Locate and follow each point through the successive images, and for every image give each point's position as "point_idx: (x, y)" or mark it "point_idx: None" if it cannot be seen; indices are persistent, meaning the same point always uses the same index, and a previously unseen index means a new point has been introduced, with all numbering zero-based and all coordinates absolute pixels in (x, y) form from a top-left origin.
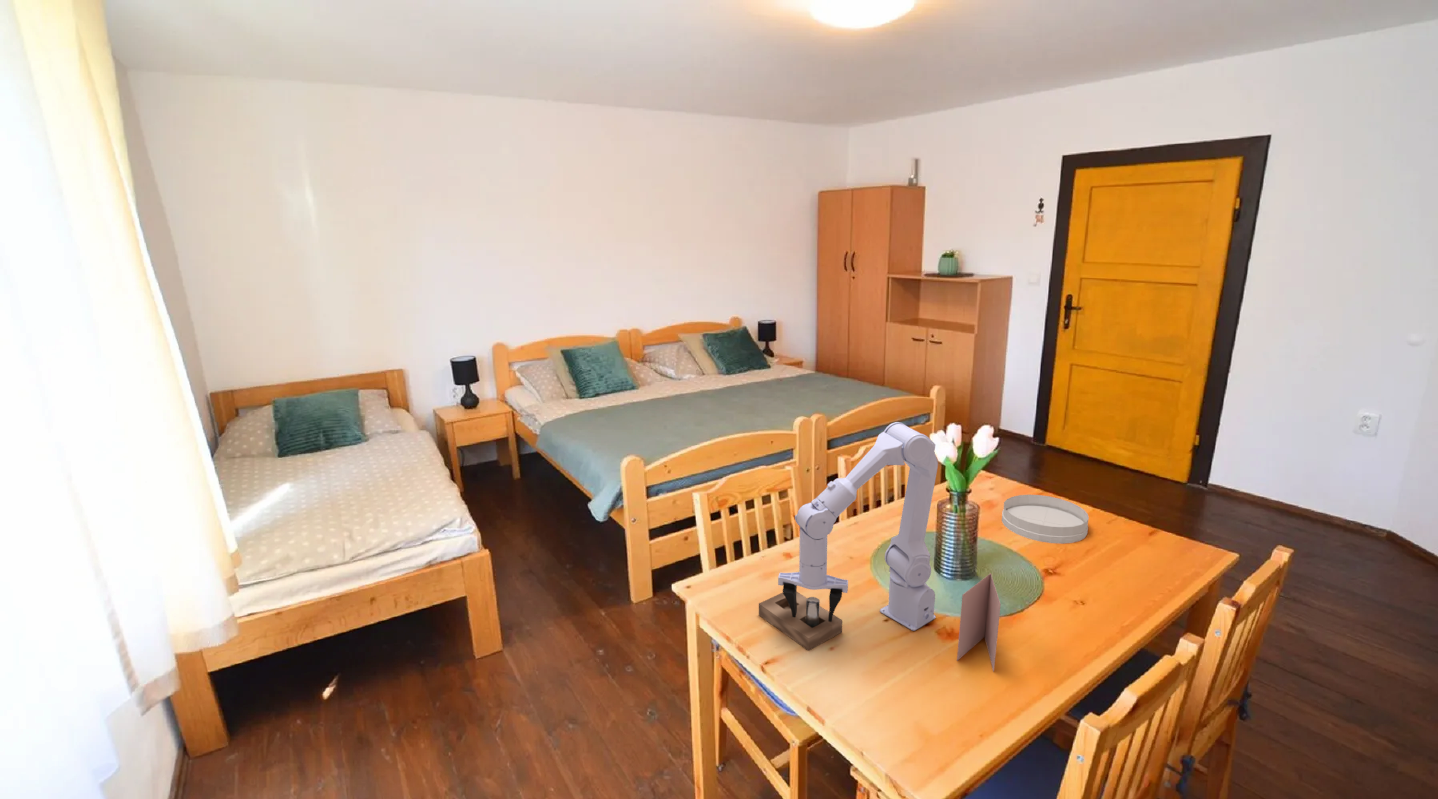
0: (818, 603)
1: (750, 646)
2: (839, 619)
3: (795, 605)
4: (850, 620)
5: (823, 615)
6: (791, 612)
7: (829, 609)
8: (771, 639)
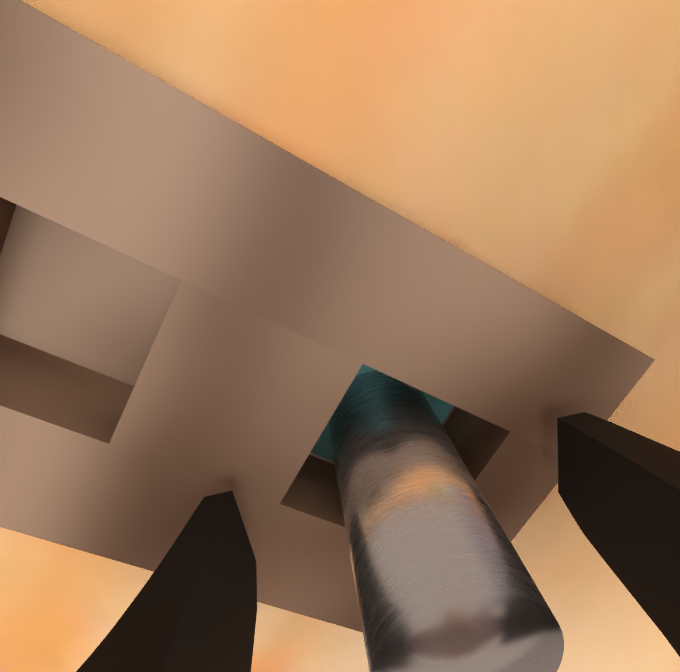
0: (550, 668)
1: (67, 667)
2: (629, 362)
3: (230, 640)
4: (637, 127)
5: (476, 363)
6: (169, 450)
7: (677, 652)
8: (147, 573)
